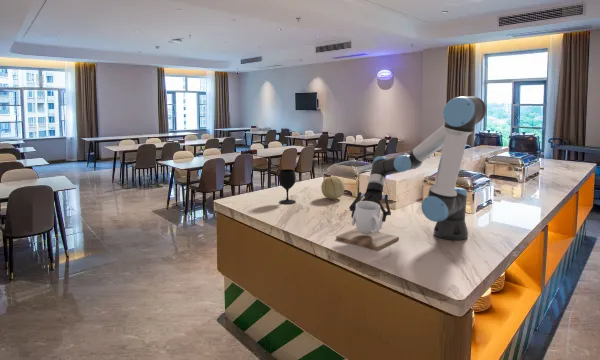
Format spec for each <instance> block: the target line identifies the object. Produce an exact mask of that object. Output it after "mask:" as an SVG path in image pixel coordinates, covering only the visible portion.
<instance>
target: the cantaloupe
mask: <svg viewBox="0 0 600 360" xmlns="http://www.w3.org/2000/svg"><path fill="white" fill-rule="evenodd" d="M344 193H345V184H344V182H343V180H342V179H341V178H339V177H338V176H331V175H327V177H326V178H325V179H324V180H323V181H322V183H321V194H322V195H323V196H324V197H325V198H326V199H329V200H337V199H339V198H341V197H342V196H343V195H344Z"/></svg>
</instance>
